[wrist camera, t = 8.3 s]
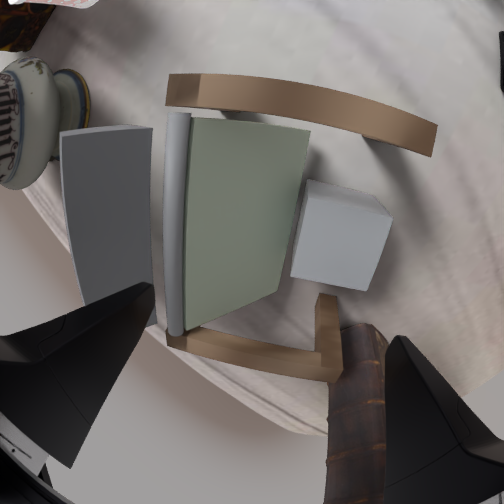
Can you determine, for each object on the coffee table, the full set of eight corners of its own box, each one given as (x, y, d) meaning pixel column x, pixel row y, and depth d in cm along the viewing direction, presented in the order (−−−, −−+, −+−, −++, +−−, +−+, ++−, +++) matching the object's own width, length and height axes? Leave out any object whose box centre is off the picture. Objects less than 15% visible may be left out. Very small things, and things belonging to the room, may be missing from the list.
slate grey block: (306, 178, 18) (373, 194, 18) (293, 241, 21) (355, 254, 20) (308, 197, 14) (393, 218, 13) (290, 276, 16) (366, 291, 16)
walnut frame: (385, 122, 15) (437, 125, 8) (331, 309, 23) (335, 383, 16) (221, 90, 16) (169, 74, 9) (203, 282, 24) (167, 345, 17)
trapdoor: (256, 118, 18) (311, 128, 15) (236, 263, 24) (276, 293, 21) (60, 118, 10) (63, 119, 7) (85, 311, 16) (106, 364, 12)
